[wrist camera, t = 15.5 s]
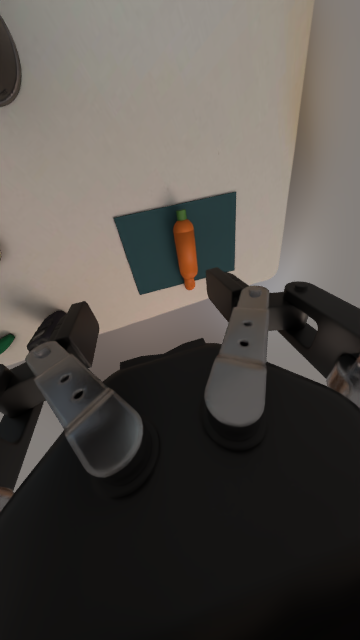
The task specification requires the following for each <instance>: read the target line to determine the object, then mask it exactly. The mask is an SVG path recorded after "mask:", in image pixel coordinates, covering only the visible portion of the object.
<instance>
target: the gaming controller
mask: <svg viewBox="0 0 360 640" xmlns="http://www.w3.org/2000/svg"><path fill="white" fill-rule="evenodd" d="M14 338H15V336H14V335H11V334H9V335H6V336H5V337H3V338H2V339H0V354H1V353H3V352H4V351H5V350H6V349H7V348H8V347H9V346H10V345H11V343H12V342H13V340H14Z"/></svg>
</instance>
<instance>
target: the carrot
mask: <svg viewBox="0 0 360 640" xmlns="http://www.w3.org/2000/svg"><path fill="white" fill-rule="evenodd" d="M176 215H177V222H176V223H175V225H174V227H173V233H174V239H175V245H176V252H177V258H178V264H179V270H180V274H181V276H182V277H183V278H184V283H185V288H186V289H187V290H192V289H194V287H195V281H194V277H195V276H196V275H197V272H198V265H197V255H196V246H195V236H194V227H193V224H192V223H191V222H190V221H189V220H188V219H187V216H186V209H181V210H177V211H176Z"/></svg>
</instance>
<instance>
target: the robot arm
mask: <svg viewBox="0 0 360 640" xmlns="http://www.w3.org/2000/svg"><path fill="white" fill-rule="evenodd" d="M20 85H21V66H20V60H19V56H18V52H17V49H16V46H15V43H14V41H13V38H12V36H11V34H10V32H9V30H8V28H7V26H6V24H5V22H4V20H3V19H2V17H1V15H0V107H1V106H5V105H8V104H9V103H11V102H12V101H13V100H14V99H15V98H16V96H17V95H18V92H19V89H20ZM206 284H207V294H208V297H209V299H210V300H211V301H212V303H213V304H214V305H215V306H216V308H217V309H218V310H219V311H220V313H221V314H222V315H223V316H224V318H225V319H226V320H227V321H228V322H229V324H228V327H227V330H226V333H225V336H224V339H223V343H222V344H217V343H205V341H204V339H203V338H201V339H197V340H194V341H191V342H187V343H184V344H182V345H180V346H178V347H176V348H174V349H172V350H170V351H168V352H166V353H164V354H158V355H148V356H141V357H137V358H134V359H130V360H127V361H124V362H120V370H118V371H116V372H115V373H113V374H112V375H111V376H109V377H108V378H107V379H106V380H104V381H103V382H102V381H101V380H100V379H99V378H98V377H97V376H95V375H94V374H93V373H92V372H91V371H90V370H89V369H88V368H90V367H92V362H93V358H94V353H95V348H96V343H97V338H98V333H99V324H98V321H97V320H96V318H95V316H94V314H93V312H92V311H91V309H90V307H89V305H88V304H87V303H86V302H85V301H83V302H79V303H75V304H72V305H71V307H70V309H69V311H68V313H67V314H65V315H64V316H63V317H62V318H61V319H60V320H59V322H58V324H57V326H56V328H55V330H54V331H53V333H52V335H51V337H50V339H49V340H48V342H45V343H43V344H40V345H39V346H37V347H35V348H34V349H33V350H31V351H30V352H29V353H28V355H27V356H26V358H25V361H26V362H25V363H23V364H21V365H19V366H17V367H15V368H13V369H10V370H9V369H8V368H7V367H5V366H4V365H3V364H0V412H2V413H3V414H4V416H3V418H2V420H1V422H0V640H360V309H359V308H357V307H355V306H353V305H351V304H349V303H348V302H346V301H343V300H342V299H340V298H338V297H336V296H334V295H332V294H330V293H328V292H326V291H324V290H323V289H320V288H318V287H317V286H315V285H313V284H310V283H307V282H291V283H288V284H287V285H286V286H285V289H284V292H278V293H269V290H268V289H267V288H265V287H262V286H248V285H247V284H246V283H244V282H243V281H241V280H240V279H239V278H237V277H236V276H235V275H233V274H231V273H227V272H225V273H224V272H223V271H222V270H220V269H219V268H218V267H216V268H212V269H208V270H206ZM308 316H309V317H311V318H312V319H313V320H315V321H316V323H317V325H318V331H316V330H315V329H314V328H313V327H311V326H310V325H309V324H307V323H306V322H307V319H308ZM272 330H277V331H278V332H279V333H280V334H281V335H282V336H284V338H285V339H286V340H287V341H288V342H289V343H291V345H292V346H293V347H294V348H296V350H297V351H298V352H299V353H301V354H302V355H303V356H304V357H305V358H306V359H307V360H308V361H309V362H310V363H311V364H312V365H313V366H314V367H315V368H316V369H317V370H318V371H319V372H320V373H321V374H322V375H323V376H324V377H325V378H326V379H327V380H326V382H327V386H328V387H327V386H325V385H323V384H320V383H318V382H315V381H313V380H310V379H308V378H305V377H303V376H300V375H298V374H296V373H293V372H290V371H288V370H286V369H283V368H281V367H279V366H276V365H274V364H271V363H268V362H266V357H267V341H268V331H272ZM44 401H47V402H48V404H49V406H50V407H51V409H52V410H53V412H54V414H55V415H56V417H57V418H58V420H59V422H60V423H61V425H62V426H63V428H64V431H63V432H62V434H61V435H60V436H59V437H58V439H57V440H56V441H55V442H54V444H53V445H52V446H51V447H50V449H49V450H48V451H47V452H46V454H45V455H44V456H43V458H42V459H41V460H40V461H39V463H38V464H37V465H36V466H35V468H34V469H33V470H32V471H31V473H30V474H29V475H28V477H27V478H26V479H25V480H24V482H23V483H22V484H21V485H20V487H19V488H18V489H17V490H16V492H15V493H14V492H13V490H14V487H15V484H16V481H17V478H18V475H19V473H20V470H21V467H22V464H23V461H24V458H25V455H26V452H27V449H28V446H29V443H30V441H31V438H32V435H33V432H34V428H35V426H36V423H37V420H38V417H39V414H40V412H41V408H42V405H43V402H44Z"/></svg>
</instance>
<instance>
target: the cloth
mask: <svg viewBox="0 0 360 640" xmlns="http://www.w3.org/2000/svg"><path fill="white" fill-rule="evenodd" d="M181 209H186V216H187V219H188V220H189V221H190V222H191V223H192V224H193V227H194V236H195V246H196V255H197V265H198V272H197V275H196V276H195V277H194V281H195V280H199V279H203V278H206V270H208V269H212V268H216V267H218V268H219V269H220V270H222V271H223V272H224V273H225V272H229V271H233V270H234V264H235V221H236V192H232V193H228V194H223V195H218V196H214V197H209V198H204V199H200V200H195V201H190V202H186V203H181V204H176V205H172V206H167V207H162V208H158V209H153V210H149V211H144V212H139V213H135V214H130V215H125V216H121V217H116V218H114V220H115V223H116V226H117V229H118V232H119V235H120V238H121V241H122V244H123V247H124V250H125V253H126V256H127V259H128V262H129V264H130V267H131V270H132V273H133V276H134V279H135V282H136V285H137V288H138V291H139V294H140V295H142V294H146V293H149V292H153V291H157V290H161V289H165V288H168V287H172V286H176V285H180V284H184V278H183V277H182V276H181V274H180V270H179V264H178V258H177V252H176V245H175V239H174V233H173V227H174V225H175V223H176V222H177V215H176V211H177V210H181Z"/></svg>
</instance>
